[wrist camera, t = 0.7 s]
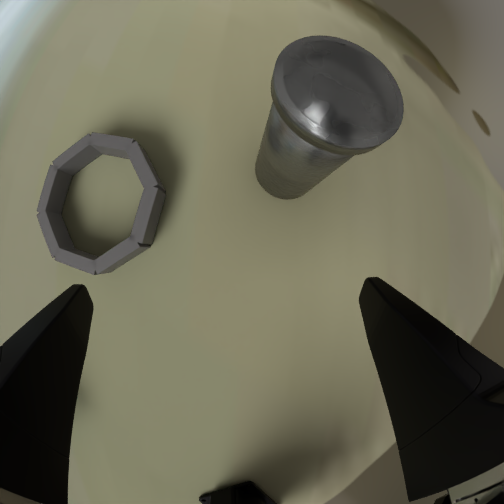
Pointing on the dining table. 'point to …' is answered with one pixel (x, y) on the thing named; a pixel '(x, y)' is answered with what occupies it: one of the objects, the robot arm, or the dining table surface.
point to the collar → (57, 192)
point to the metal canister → (324, 113)
